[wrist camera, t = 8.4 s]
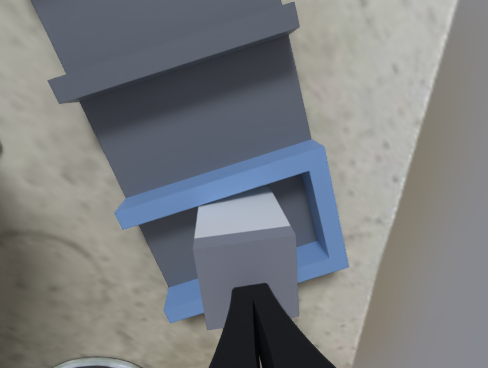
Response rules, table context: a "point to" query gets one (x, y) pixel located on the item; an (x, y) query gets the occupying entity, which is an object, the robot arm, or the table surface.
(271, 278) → the grey square block
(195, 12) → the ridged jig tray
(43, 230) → the table surface
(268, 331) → the robot arm
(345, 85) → the table surface
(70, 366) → the coffee can
